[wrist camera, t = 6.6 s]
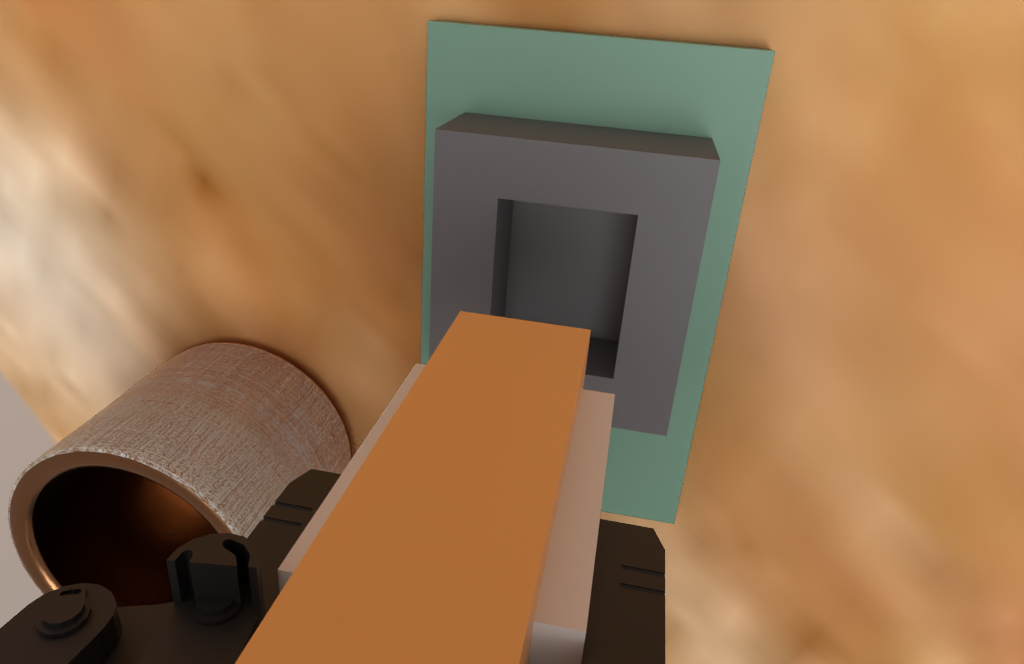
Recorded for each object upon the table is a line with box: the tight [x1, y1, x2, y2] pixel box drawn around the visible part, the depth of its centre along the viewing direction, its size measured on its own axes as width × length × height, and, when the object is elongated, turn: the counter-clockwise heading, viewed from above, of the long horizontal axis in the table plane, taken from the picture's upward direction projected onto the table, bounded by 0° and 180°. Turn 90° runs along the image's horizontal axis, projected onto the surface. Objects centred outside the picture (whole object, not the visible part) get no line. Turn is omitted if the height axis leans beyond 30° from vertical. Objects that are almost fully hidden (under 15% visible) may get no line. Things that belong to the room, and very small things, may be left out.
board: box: [421, 20, 775, 524], centre depth 28 cm, size 20×12×5 cm, turn 175°
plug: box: [235, 311, 591, 664], centre depth 13 cm, size 4×3×10 cm, turn 175°
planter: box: [8, 342, 351, 607], centre depth 32 cm, size 11×11×10 cm
